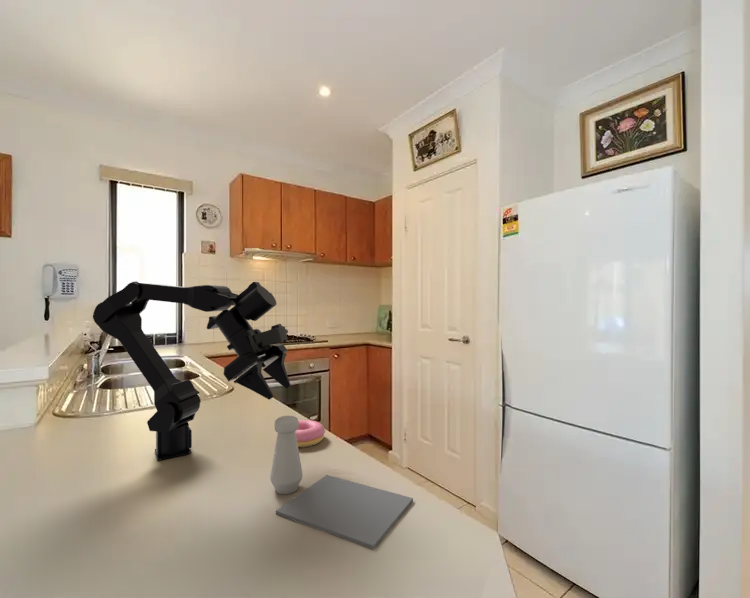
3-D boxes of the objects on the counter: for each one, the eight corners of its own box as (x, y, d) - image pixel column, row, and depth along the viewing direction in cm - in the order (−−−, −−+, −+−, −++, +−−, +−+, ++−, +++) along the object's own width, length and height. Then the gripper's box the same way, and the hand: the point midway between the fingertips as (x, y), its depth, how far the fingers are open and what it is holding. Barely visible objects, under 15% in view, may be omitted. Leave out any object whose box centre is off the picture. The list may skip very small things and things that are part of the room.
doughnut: (309, 430, 100) (308, 414, 100) (334, 441, 92) (334, 424, 92) (271, 440, 92) (271, 423, 92) (294, 454, 84) (294, 435, 84)
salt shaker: (273, 500, 65) (273, 424, 65) (267, 485, 70) (266, 415, 70) (306, 491, 68) (306, 419, 68) (298, 478, 73) (297, 411, 73)
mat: (275, 513, 61) (275, 510, 61) (326, 477, 73) (326, 474, 73) (373, 549, 52) (373, 545, 52) (412, 501, 64) (412, 498, 64)
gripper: (245, 313, 72) (292, 380, 70) (284, 310, 90) (322, 363, 89) (203, 347, 73) (248, 414, 72) (250, 337, 92) (286, 390, 90)
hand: (280, 392), depth 81 cm, fingers open, 9 cm apart
